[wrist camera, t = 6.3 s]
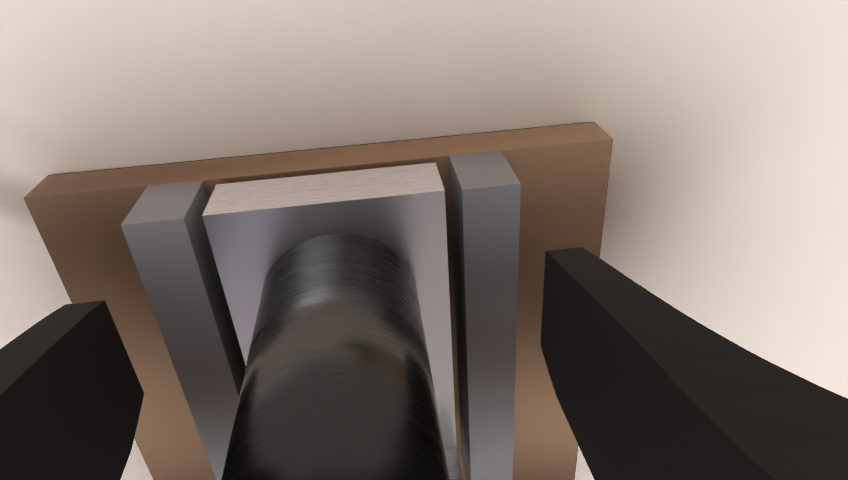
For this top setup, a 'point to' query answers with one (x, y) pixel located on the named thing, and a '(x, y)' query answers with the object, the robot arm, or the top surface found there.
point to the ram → (339, 325)
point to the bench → (467, 266)
